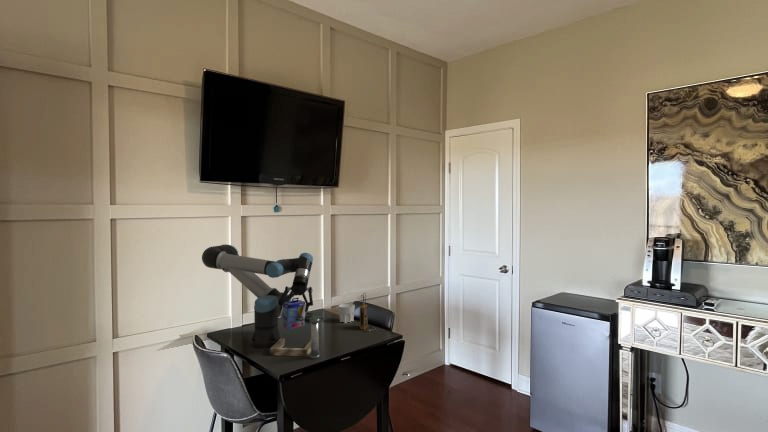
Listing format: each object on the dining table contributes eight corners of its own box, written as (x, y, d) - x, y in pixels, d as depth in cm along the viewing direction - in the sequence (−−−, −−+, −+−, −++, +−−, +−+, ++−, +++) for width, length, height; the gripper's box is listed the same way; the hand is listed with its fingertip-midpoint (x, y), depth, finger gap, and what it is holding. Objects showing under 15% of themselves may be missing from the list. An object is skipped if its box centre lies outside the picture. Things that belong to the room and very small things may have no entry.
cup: (337, 319, 256) (337, 304, 256) (353, 318, 259) (353, 303, 259) (339, 324, 247) (339, 307, 247) (356, 323, 249) (356, 306, 249)
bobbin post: (308, 359, 189) (308, 320, 189) (311, 355, 194) (310, 317, 194) (318, 359, 189) (318, 320, 188) (321, 355, 194) (321, 317, 193)
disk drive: (294, 320, 259) (311, 323, 250) (294, 315, 259) (311, 318, 250) (306, 316, 267) (323, 319, 258) (306, 312, 267) (323, 315, 258)
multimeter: (375, 332, 229) (375, 297, 229) (358, 331, 231) (358, 296, 231) (380, 325, 244) (380, 291, 243) (364, 324, 246) (364, 291, 245)
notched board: (269, 355, 194) (269, 348, 194) (281, 344, 210) (280, 338, 210) (307, 356, 193) (307, 349, 193) (315, 345, 209) (315, 339, 209)
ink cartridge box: (288, 329, 197) (287, 299, 197) (282, 327, 201) (281, 298, 201) (305, 325, 204) (305, 296, 203) (299, 323, 208) (299, 295, 207)
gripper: (323, 283, 216) (316, 321, 201) (281, 283, 218) (271, 320, 203) (321, 275, 211) (313, 313, 196) (278, 274, 213) (267, 312, 197)
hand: (292, 317), depth 199 cm, fingers closed on ink cartridge box, 10 cm apart
